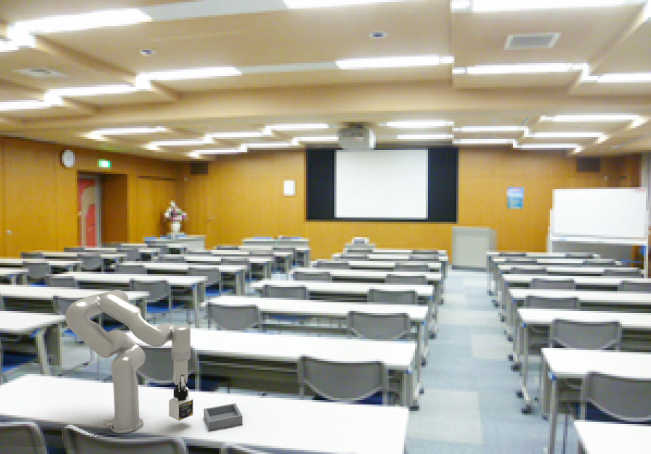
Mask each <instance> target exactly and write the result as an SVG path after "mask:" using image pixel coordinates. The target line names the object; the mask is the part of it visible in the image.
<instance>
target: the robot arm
mask: <svg viewBox="0 0 651 454" xmlns="http://www.w3.org/2000/svg"><path fill="white" fill-rule="evenodd" d="M101 313H102V314H103V313H105V314H106V315H108V316H110V317H111V318H114V319H115V320H117V321H118V322H119V323H122V324H124V325H125V326H127V327H128V329H129V331H130V332H132V334H133V335H134V337H136V338H137V339H138V340H139V341H142V342H143V343H145V344H146V345H148V346H151V347H154V348H160V347H163V346H164V345H166V343H168V342H170V341H171V361H173V375H172V376H173V377H172V378H173V382H174V385H175V388H176V387H178V389H179V391H178V401H183V400H186V387H187V386H186V384H187V383H188V375H189V372H188V371H189V370H188V369H189V368H188V364H189V362H188V361H189V360H190V359H191V327H190V326H189V325H187V324H174V323H168V322H166V323H162V324H160V325H158V326H156V327H155V326H154V325H152V324H149V323H148V322H147V321H146V320H144V318H143V316H142V309H141V308H140V307H138V305H135V304H133V303H131V302H130V301H129V295H128V294H127V293H126V292H125V291H123V290H120V289H115V290H112V291H106V292H102V293H96V294H93V295H90V296H85V297H84V298H80V299H78V300H76V301H74V302H72V303H71V304H70V305H69V306H68V308H67V310H66V312H65V322H66V325H67V326H68V328H69V330H70V331H72V333H73V334H74V335H75V336H77V337H78V338H79V339H80V340H82V341H83V342H84V343H85V344H86V345H87V346H88V347H89V348H90V349H91V350H92V351H94V353H95V354H97V355H98V356H99V357H101V358H102V359H109V358H111V357H113V356H114V355H115V357H114V358H113V359H112V361H111V364H110V374H111V378H112V383H113V384H112V385H113V404H114V405H113V406H114V407H113V408H114V416H113V417H111V419H104V420H102V421H103V422H102V423H103V426H105V427H110V431H111V432H113V433H115V434H127V433H131V432H135V431H137V430H139V429H141V428H142V427H143V425H144V420H143V418H141V417H140V404H139V403H140V400H139V383H138V382H139V381H138V378H137V374H136V371H137V370H138V369H139V368H140V367H142V365H143V364H144V363H145V361H146V353H145V351H144V350H143V349H142V347H141V346H140V345H139V344H138V343H137V342H136V341H134V340H133V339H132V338H131V337H130V336H129V335H128V334H127V333H126V332H124V331H121V330H118V329H114V330H111V331H109V332H108V331H107V330H105V329H104V328H103V327H102V326H101V325H100V324H99V323H97V322H95V321H93V320H91V319H90V318H91V317H93V316H94V317H95V315H99V314H101ZM180 386H181V387H180ZM134 430H135V431H134Z"/></svg>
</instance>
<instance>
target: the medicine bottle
mask: <svg viewBox="0 0 651 454" xmlns="http://www.w3.org/2000/svg"><path fill="white" fill-rule="evenodd" d="M180 387H181V386H180ZM178 391H179V389H178V387H176V386H175V387H174V388H173V398H170V399H169V400H168V417H170V418H172V419H175V420H176V421H178V422H180V421H181V420H185V419H187V418H189V417H192V416H194V399H193V398H191V397H190V396H189V388H188V386H186V400H183V401H178Z"/></svg>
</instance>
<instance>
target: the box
mask: <svg viewBox="0 0 651 454" xmlns="http://www.w3.org/2000/svg"><path fill="white" fill-rule="evenodd" d="M203 419H204V423H205V424H206V428H207V430H208V432H209V433H210V432H214V431H219V430H223V429H229V428H235V427H240V426H243V414H242V412H241V411H240V409H239V407H238V405H237V403H236V402H234V403H230V404H223V405H218V406H213V407H207V408H203Z"/></svg>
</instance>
